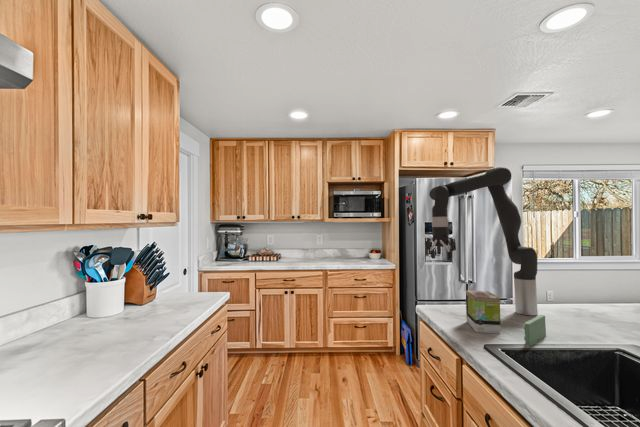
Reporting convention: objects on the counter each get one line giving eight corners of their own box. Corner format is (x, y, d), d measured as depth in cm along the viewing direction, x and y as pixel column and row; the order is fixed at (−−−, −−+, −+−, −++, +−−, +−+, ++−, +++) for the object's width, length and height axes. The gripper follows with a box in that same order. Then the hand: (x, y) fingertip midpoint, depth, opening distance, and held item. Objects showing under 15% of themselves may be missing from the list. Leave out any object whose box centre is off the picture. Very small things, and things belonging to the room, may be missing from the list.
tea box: (502, 334, 125) (500, 297, 126) (475, 332, 127) (474, 296, 128) (489, 322, 140) (488, 290, 140) (465, 321, 142) (464, 289, 142)
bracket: (539, 334, 124) (538, 314, 124) (546, 335, 122) (544, 315, 122) (523, 344, 113) (522, 322, 114) (530, 346, 111) (529, 324, 112)
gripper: (457, 225, 149) (459, 259, 148) (431, 226, 160) (432, 257, 159) (449, 225, 144) (451, 260, 143) (423, 226, 155) (424, 258, 154)
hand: (441, 259), depth 151 cm, fingers open, 8 cm apart
